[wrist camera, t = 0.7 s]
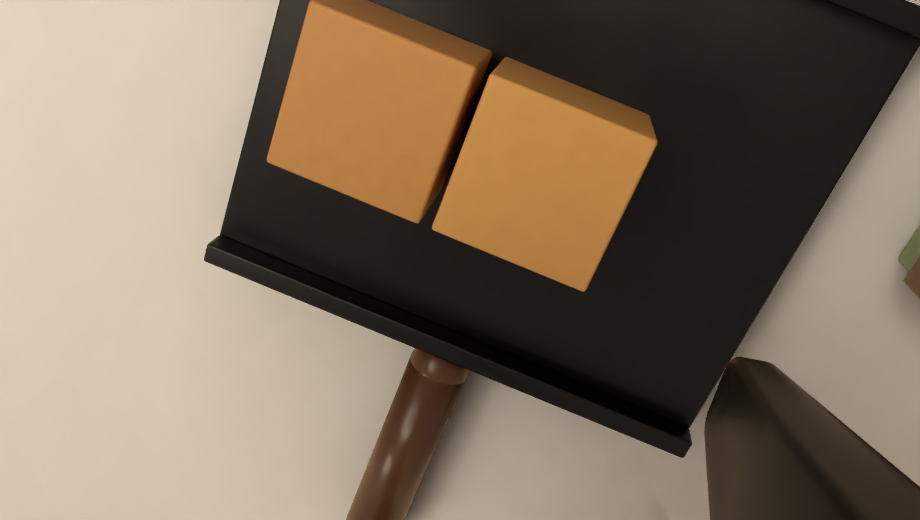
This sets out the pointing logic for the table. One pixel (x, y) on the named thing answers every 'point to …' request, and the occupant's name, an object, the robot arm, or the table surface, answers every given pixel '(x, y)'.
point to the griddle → (637, 235)
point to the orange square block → (376, 104)
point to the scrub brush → (912, 263)
